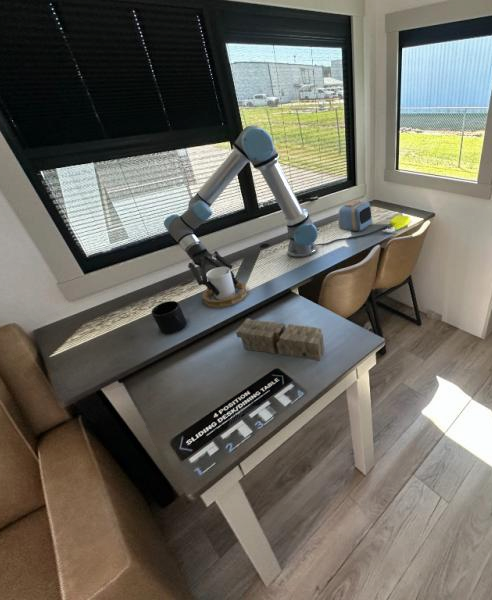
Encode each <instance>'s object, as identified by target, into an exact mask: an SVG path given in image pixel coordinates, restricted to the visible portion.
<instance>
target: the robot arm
mask: <svg viewBox="0 0 492 600" xmlns="http://www.w3.org/2000/svg"><path fill="white" fill-rule="evenodd" d="M279 157H280V155H279V153H278V151H277V149H276V147H275V144H274V140H273V138H272V136H271V134H270V133H269V132H268V131H266V129H264V128H262V127H260V126H257V125H247V126H245V127H244V128H243V129H242V130H241V132H240V133H239V136H238V137H237V138H236V140H235V141H234V143H233V144H232V149H231V151H230V152H229V153H228V155H227V156H225V158H224V159H223V161H222V162H221V163H220V164H219V165H218V167H217V168H216V169H215V170H214V171H213V173H212V174H210V176H209V178H208V179H207V180H206V181H205V183H203V185H202V186H201V187H200V188H199V190H197V193H195V194H194V196H192V197H191V198H190V199H189V201H188V206H187V209H186V210H185V211H184V212H183V213H182V214H181V215H179V214H171V215H170V216H167V217H166V218H165V219H164V220H163V226H164V228H165V229H166V230H167V231H168V233H169V235H171V237H172V238H173V239H174V240H175V241H176V242H177V243H178V245H179V246H180V247H181V249H182V250H183V251H184V252H185V253H186V255H187V256H188V257H189V258H190V260H192V262H189V263H188V265H187V268H189V270H191V272H192V274H193V276H194V278H195V280H196V283H197V284H198V286H202V285H203V286H205V287H206V289H207V288H208V289H209V290H212V291H213V292H214V293H215V294H214V293H213V294H214V296H215V295H216V296H218V295H219V293H220V292H219V291H218V290H217V289H216V288H215V286H214V285H213V284H212V283H211V282H210V281H208V278H207V277H206V273H207V272H206V267H208V266H210V265H211V266H214V267H215V268H217V267H228V268H230V271H231V276H232V280H233V283H234V285H237V283H238V281H237V280H238V279H237V278H236V277H235V276H236V275H235V274H234V273H233V271H232V269H233V265H232V264H231V263H230V262H229V261H227V259H225V258H224V257H223V256H222V255H220V253H219V252H218V251H217V250H215V251H213V252H210V251H208V249H207V248H206V247H205V245H204V244H203V243H202V241H201V240H200V238H198V236H196V234H195V233H194V231H195V230H196V229H197V228H199V227H200V226H202V224H204V223H205V222H206V221H208V219H209V218H210V217H211V216H212V215H213V211H212V208H211V207H212V205H213V204H214V203H215V202H216V200H218V198H219V197H220V196H221V195H222V193H223V192H224V191H225V190H226V189H227V187H228V186H229V185H230V184H231V182H232V181H233V180H234V179H235V178H236V177H237V175H238V174H239V173H240V172H241V171H242V170H243V169H244V167H245V166H246V165H247V163H251V165H252V168H253V169H255V170H258V171H259V172H260V174H261V176H262V178H263V179H264V181H265V183H266V184H267V186H268V188H269V190H270V193H272V195H273V197H274V199H275V200H276V203H277V204H278V206H279V208H280V209H281V211H282V213H283V215H284V219H285V225H286V229H287V234H288V239H289V241H288V245H287V252H288V256H291V257H293V258H305V257H309V256H311V255H313V254H315V253H316V252H317V246H325V245H330V244H332V243H334V242H337V241H343V240H350V239H356V238H361V237H365V236H368V235H371V234H374V233H377V232H379V231H381V230H382V231H383V230H385V229H387V228H388V225H385V226H383V227H381V228H379V229H376V230H374V231H371V232H367V233H364V234H360V235H355V236H349V237H344V238H343V237H342V238H336V239H333V240H331V241H329V242H325V243H316V244H315V242H316V241H317V238H318V237H319V236H318V235H319V231H318V228H317V226H316V225H315V224H314V223H313V220H312V218H311V217H310V214H309V212H308V210H307V208H302V206H301V204H300V202H299V200H298V198H297V196H296V194H295V192H294V190H293V188H292V186H291V184H290V182H289V180H288V179H287V177H286V174H285V172H284V171H283V168H282V166H281V165H280V163H279ZM196 266H198V267H199V270H200V273H199V271H198V269H197V268H196ZM227 273H228V271H227ZM200 275H201V276H200ZM216 296H215V297H216Z"/></svg>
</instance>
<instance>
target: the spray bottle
mask: <svg viewBox="0 0 492 600" xmlns="http://www.w3.org/2000/svg"><path fill="white" fill-rule="evenodd" d="M410 221H411V217H410V216H408V215H399V214H398V215H395V216H394V217H393V218H392V219H391V220H390V221H389V224H390V226H391V227H390V228H388V227H386V229H382V232H383V233H388V234H395V233H396V231H398V230H400V229H403V228H404V227H406V226H407V225H408V224H409V223H410Z"/></svg>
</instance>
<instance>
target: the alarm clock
mask: <svg viewBox="0 0 492 600" xmlns="http://www.w3.org/2000/svg"><path fill="white" fill-rule="evenodd" d="M371 208H372V207H371V203H370V202H368V201H361V199H351V200H349V201H346V202H345V204H344V205H343V206H341V207H340V208H339V210H338V227H339V229H343V230H349V231H354V232H362V231H363V230H364V229H367V228H368V227H369V226H371V224H373V223H372V222H373V218H372V209H371Z"/></svg>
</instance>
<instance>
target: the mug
mask: <svg viewBox="0 0 492 600" xmlns="http://www.w3.org/2000/svg"><path fill="white" fill-rule="evenodd" d="M150 312H151V315H152V317H153V319H154V322H155V324H156V326H157V327H158V329H159V331H160V332H161V334H164V335H172V334H176V333H178V332H180V331H182V330H183V329H184V328H185V327H186V326H187V324H188V322H187V319H186V317H185V315H184V313H183V309H182V307H181V306H180V304H179V302H178V301H175V300H168V301H165V302H161V303H159V304H157V305H155V306H154V307H153V308H152V310H151V311H150Z"/></svg>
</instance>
